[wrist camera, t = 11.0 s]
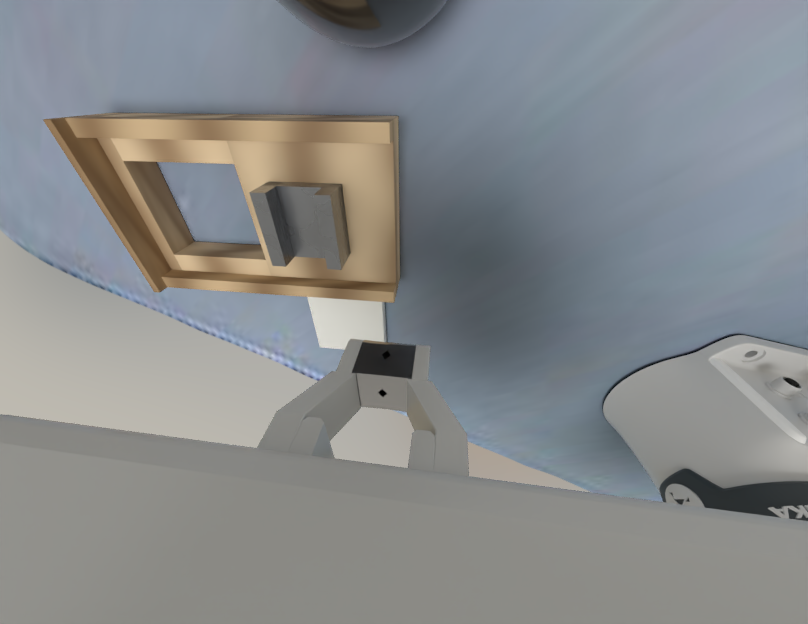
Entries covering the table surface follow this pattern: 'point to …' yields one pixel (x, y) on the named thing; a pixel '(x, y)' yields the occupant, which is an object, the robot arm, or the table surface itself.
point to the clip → (303, 221)
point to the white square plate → (347, 321)
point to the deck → (256, 165)
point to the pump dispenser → (364, 19)
